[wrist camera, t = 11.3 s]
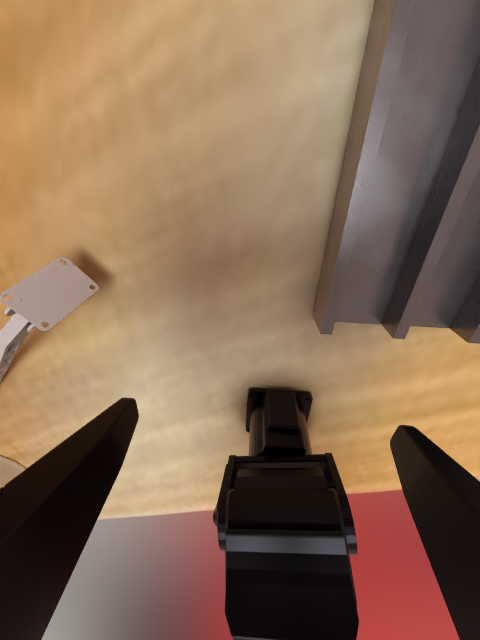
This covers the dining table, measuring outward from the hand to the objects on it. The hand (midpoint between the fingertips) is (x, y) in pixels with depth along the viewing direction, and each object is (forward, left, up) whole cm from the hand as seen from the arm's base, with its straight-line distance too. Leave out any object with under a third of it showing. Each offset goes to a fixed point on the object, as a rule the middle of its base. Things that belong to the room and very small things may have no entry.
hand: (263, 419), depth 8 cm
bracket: (-7, +22, -13) cm, 26 cm away
